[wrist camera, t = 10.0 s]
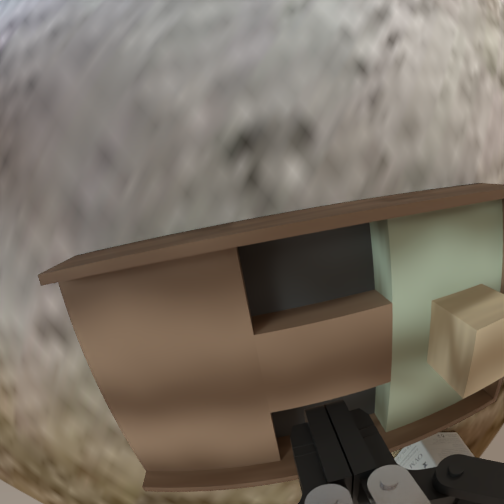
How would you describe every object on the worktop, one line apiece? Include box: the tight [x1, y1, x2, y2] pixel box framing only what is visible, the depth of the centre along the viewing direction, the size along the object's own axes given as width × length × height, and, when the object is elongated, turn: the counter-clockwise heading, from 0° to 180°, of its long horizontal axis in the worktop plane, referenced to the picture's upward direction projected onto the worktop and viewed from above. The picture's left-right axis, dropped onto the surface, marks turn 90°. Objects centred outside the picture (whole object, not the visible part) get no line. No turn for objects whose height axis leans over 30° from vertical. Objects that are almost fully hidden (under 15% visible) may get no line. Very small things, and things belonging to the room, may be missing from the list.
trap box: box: [38, 183, 504, 492], centre depth 15 cm, size 15×25×4 cm, turn 100°
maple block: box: [427, 284, 504, 399], centre depth 13 cm, size 4×4×4 cm
